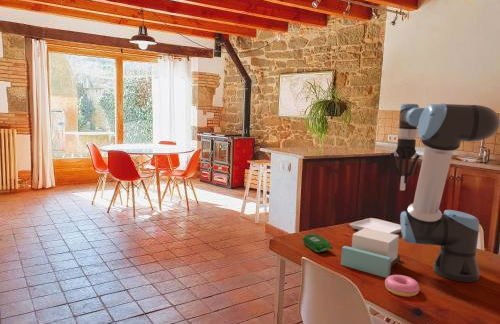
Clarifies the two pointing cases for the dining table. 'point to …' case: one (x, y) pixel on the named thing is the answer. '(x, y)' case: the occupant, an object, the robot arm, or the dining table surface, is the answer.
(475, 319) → the dining table surface
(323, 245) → the snack package
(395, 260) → the roller bed
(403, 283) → the doughnut
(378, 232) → the white box
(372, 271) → the block
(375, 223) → the salad plate
